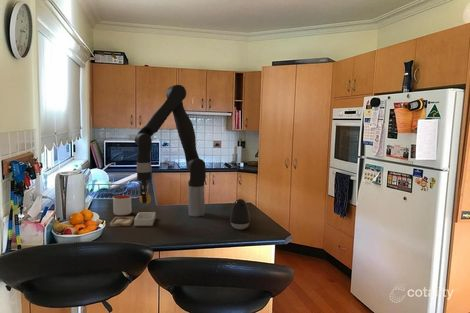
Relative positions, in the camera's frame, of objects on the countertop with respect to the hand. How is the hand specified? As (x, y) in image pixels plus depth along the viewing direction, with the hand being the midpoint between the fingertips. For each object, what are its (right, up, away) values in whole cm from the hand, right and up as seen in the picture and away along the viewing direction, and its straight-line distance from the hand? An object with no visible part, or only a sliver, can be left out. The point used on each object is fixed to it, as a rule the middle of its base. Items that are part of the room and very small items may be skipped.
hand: (145, 201), depth 177 cm
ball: (0, +2, 0) cm, 2 cm away
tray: (-12, -11, 0) cm, 17 cm away
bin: (0, -11, +1) cm, 11 cm away
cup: (-18, -10, +17) cm, 27 cm away
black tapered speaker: (+51, -13, -8) cm, 53 cm away
